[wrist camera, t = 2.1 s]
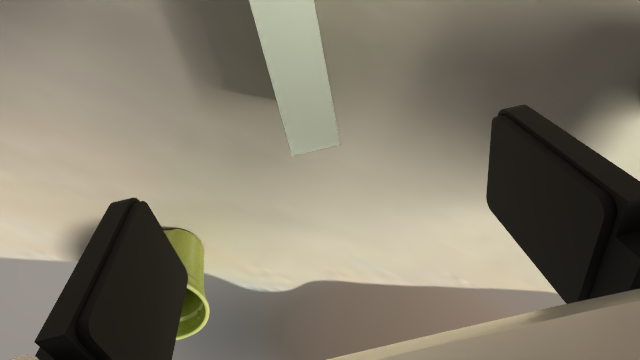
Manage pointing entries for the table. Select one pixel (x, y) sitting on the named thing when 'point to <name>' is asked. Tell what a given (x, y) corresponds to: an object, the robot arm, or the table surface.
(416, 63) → the table surface
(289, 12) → the door panel
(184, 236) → the plant pot
